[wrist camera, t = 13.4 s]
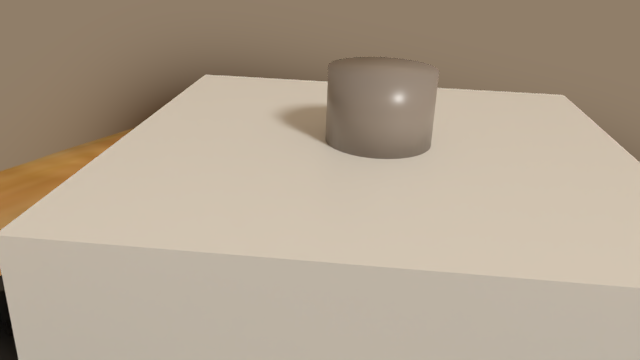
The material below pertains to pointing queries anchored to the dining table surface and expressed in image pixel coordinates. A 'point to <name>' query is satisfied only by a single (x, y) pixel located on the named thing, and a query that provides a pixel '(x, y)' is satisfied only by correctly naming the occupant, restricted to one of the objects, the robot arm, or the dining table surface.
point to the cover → (337, 229)
